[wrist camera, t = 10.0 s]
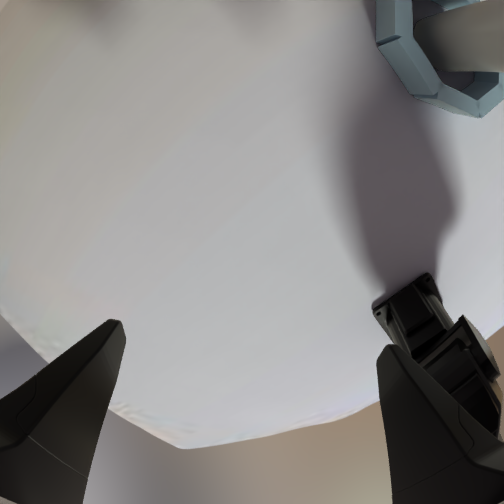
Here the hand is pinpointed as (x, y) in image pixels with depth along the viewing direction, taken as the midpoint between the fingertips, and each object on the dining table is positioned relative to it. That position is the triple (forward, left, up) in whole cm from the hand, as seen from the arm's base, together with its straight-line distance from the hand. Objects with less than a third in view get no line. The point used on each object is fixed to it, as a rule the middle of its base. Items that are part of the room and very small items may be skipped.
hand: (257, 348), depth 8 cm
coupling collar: (+2, -19, -12) cm, 22 cm away
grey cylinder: (+2, -19, -12) cm, 22 cm away
